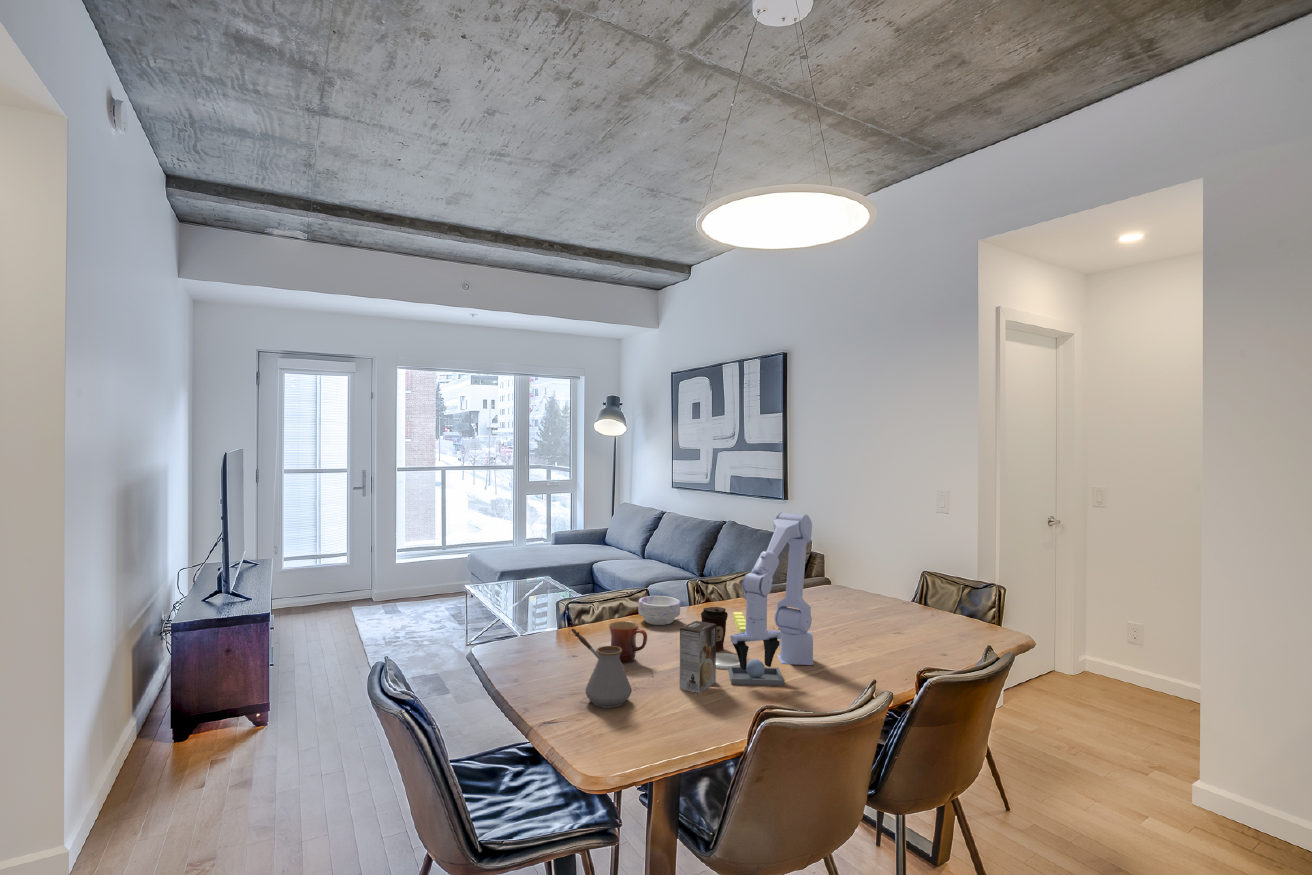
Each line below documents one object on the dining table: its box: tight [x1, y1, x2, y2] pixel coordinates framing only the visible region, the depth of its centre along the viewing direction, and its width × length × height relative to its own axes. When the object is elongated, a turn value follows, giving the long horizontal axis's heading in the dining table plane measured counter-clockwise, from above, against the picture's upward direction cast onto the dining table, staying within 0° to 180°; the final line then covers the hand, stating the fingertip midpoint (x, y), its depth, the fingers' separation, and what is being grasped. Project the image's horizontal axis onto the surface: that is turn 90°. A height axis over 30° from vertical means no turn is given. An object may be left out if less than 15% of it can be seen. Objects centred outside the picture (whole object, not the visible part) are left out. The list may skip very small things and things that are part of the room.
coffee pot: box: [568, 628, 633, 709], centre depth 165 cm, size 21×12×15 cm, turn 45°
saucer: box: [716, 652, 740, 670], centre depth 191 cm, size 12×12×1 cm
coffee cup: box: [700, 606, 729, 653], centre depth 203 cm, size 9×8×13 cm
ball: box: [746, 658, 765, 678], centre depth 178 cm, size 5×5×5 cm
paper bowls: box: [638, 595, 681, 626], centre depth 236 cm, size 15×15×8 cm
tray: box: [727, 666, 785, 687], centre depth 178 cm, size 14×10×2 cm
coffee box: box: [679, 620, 717, 694], centre depth 173 cm, size 9×6×16 cm
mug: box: [608, 620, 648, 664], centre depth 192 cm, size 12×9×10 cm
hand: (755, 667), depth 178 cm, fingers open, 7 cm apart
